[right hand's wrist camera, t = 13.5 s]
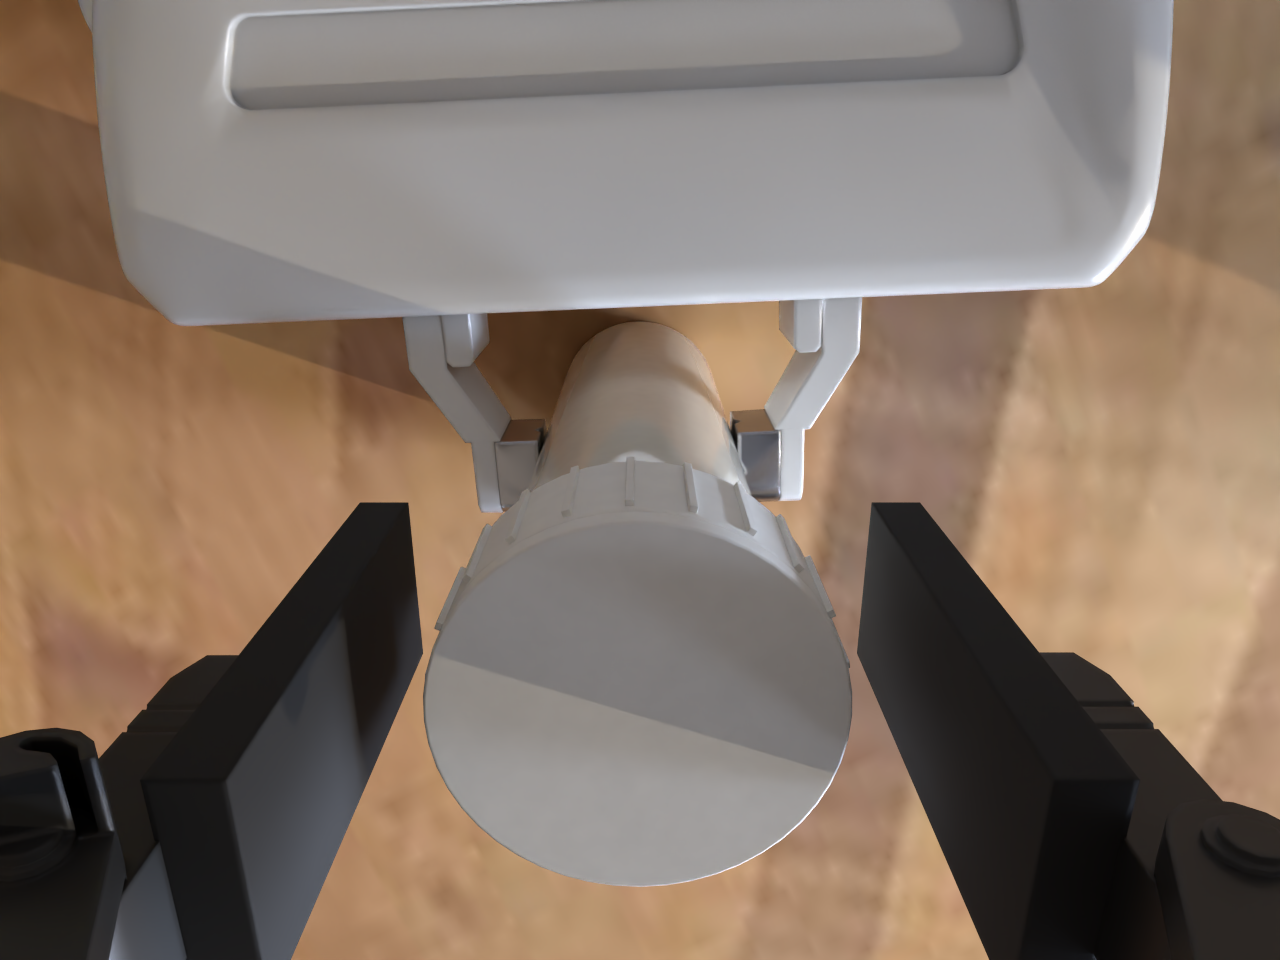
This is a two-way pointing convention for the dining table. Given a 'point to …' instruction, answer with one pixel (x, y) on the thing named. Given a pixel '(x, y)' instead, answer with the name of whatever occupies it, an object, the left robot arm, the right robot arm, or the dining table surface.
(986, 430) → the dining table surface
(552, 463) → the jar
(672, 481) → the lid
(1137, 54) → the left robot arm
